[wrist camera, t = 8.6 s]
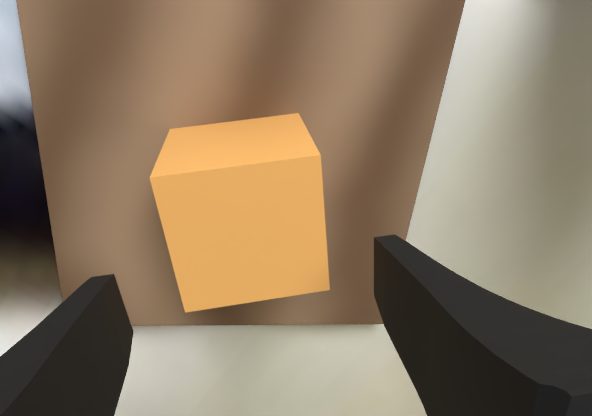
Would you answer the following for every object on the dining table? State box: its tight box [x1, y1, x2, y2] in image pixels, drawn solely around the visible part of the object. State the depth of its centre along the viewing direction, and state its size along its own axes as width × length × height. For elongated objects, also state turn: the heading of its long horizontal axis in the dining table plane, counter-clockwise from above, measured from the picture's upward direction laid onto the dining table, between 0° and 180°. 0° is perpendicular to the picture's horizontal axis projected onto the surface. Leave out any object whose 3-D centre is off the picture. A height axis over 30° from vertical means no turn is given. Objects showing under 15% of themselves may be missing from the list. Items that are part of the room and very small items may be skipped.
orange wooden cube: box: [150, 113, 330, 313], centre depth 17 cm, size 5×5×5 cm
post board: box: [16, 0, 465, 326], centre depth 18 cm, size 16×16×5 cm
